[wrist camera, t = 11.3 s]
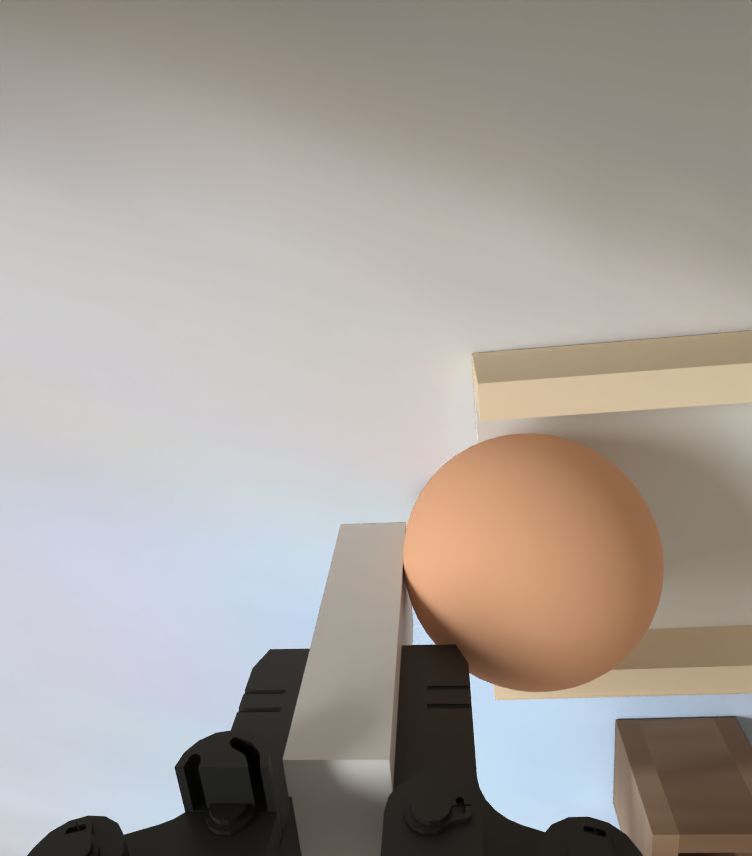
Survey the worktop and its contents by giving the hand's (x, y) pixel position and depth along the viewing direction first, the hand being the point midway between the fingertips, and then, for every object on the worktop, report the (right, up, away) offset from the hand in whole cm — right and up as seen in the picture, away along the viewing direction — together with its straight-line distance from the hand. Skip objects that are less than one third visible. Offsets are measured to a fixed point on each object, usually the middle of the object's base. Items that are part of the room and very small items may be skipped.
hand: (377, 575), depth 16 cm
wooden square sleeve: (+8, -6, +4) cm, 11 cm away
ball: (+3, +1, -2) cm, 4 cm away
